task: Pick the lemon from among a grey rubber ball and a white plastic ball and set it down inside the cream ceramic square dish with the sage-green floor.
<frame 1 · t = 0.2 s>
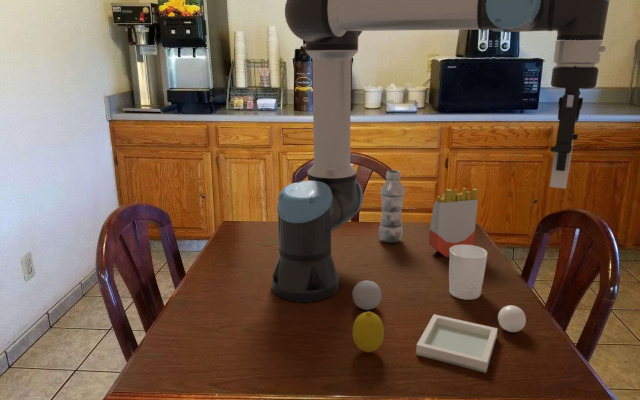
hand: (559, 179, 99), 28 cm above the table, tool pointing down, fingers open, 13 cm apart
lemon: (367, 353, 91), on the table
square dish: (457, 346, 93), on the table
grey rubber ball: (366, 307, 107), on the table
french fries container: (450, 253, 136), on the table
white plastic ball: (510, 330, 98), on the table
plastic bottle: (390, 241, 144), on the table
white cup: (464, 293, 113), on the table
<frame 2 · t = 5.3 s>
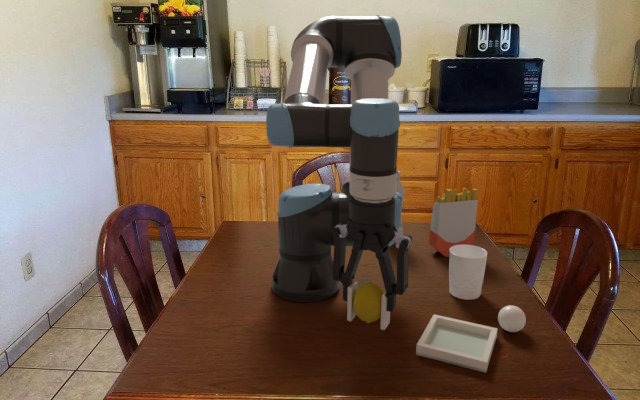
hand: (368, 321, 90), 6 cm above the table, tool pointing down, fingers closed on lemon, 5 cm apart
lemon: (368, 323, 90), point 5 cm above the table, touching gripper
everything else where it was.
when the fingers open (3 cm above the table, at t = 10.1 s): lemon drops 2 cm, resting on square dish.
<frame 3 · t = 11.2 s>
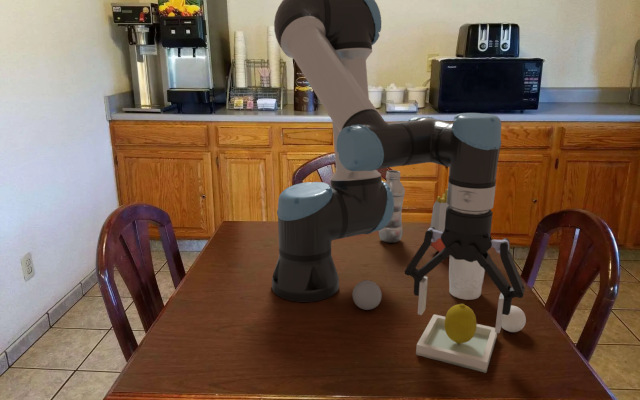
hand: (458, 320, 92), 5 cm above the table, tool pointing down, fingers open, 13 cm apart
lemon: (458, 344, 93), resting on square dish
everything else where it was.
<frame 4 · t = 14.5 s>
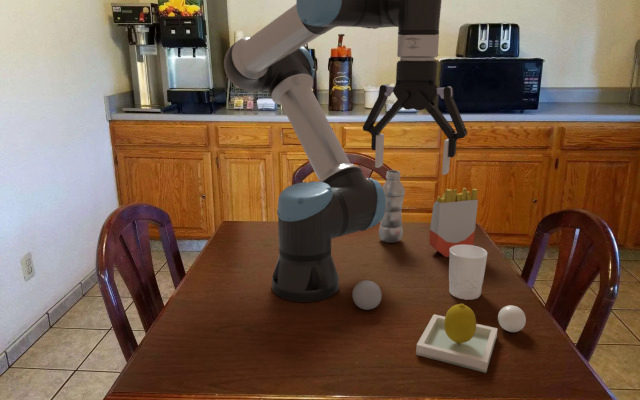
hand: (411, 169, 102), 29 cm above the table, tool pointing down, fingers open, 13 cm apart
nothing on the table moved.
at the end: lemon 0.1 cm off-centre on the square dish, point 0.3 cm above the square dish's base; the gripper is holding nothing; grey rubber ball moved 0.0 cm from its start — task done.
